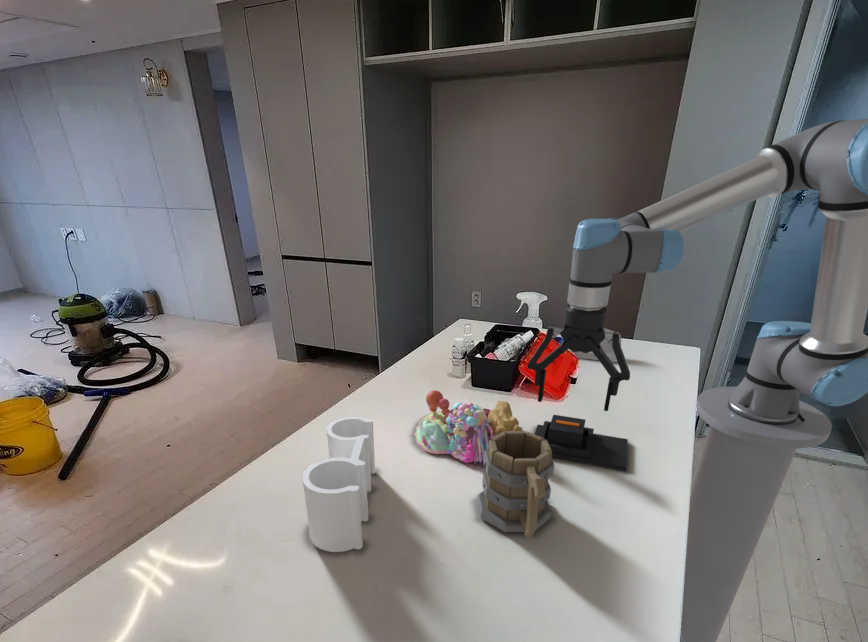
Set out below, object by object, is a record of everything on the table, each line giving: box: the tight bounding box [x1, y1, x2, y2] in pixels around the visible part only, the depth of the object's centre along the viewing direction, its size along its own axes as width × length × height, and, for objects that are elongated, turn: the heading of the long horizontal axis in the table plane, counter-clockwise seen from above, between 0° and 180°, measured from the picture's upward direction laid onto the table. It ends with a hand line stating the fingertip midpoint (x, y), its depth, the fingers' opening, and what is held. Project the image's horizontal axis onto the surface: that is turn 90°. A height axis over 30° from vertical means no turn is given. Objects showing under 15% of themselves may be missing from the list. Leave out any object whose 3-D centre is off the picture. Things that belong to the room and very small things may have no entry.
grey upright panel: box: [568, 328, 622, 364], centre depth 159 cm, size 17×5×10 cm, turn 70°
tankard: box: [477, 430, 555, 538], centre depth 87 cm, size 20×13×15 cm, turn 1°
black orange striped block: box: [547, 414, 586, 449], centre depth 112 cm, size 7×7×5 cm
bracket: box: [302, 416, 376, 553], centre depth 92 cm, size 25×10×12 cm, turn 177°
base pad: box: [534, 420, 629, 472], centre depth 112 cm, size 20×12×2 cm, turn 69°
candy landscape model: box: [414, 389, 523, 466], centre depth 114 cm, size 25×24×9 cm
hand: (572, 403), depth 108 cm, fingers open, 13 cm apart
